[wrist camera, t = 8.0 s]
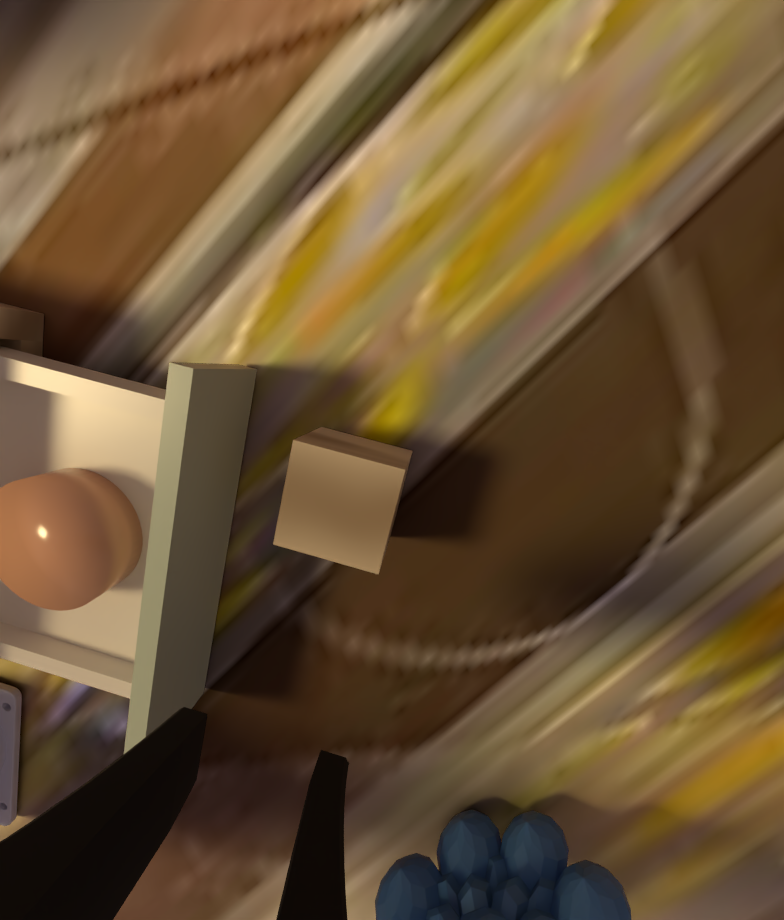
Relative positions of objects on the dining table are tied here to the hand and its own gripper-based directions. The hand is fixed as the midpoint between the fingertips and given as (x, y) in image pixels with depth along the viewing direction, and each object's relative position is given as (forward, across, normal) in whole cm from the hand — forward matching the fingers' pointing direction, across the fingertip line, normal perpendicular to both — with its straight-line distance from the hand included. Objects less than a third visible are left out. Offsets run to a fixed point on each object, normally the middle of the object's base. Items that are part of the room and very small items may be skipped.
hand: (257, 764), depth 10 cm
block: (+9, 0, -4) cm, 10 cm away
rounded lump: (+7, +11, 0) cm, 13 cm away
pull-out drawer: (+9, +11, 0) cm, 14 cm away
